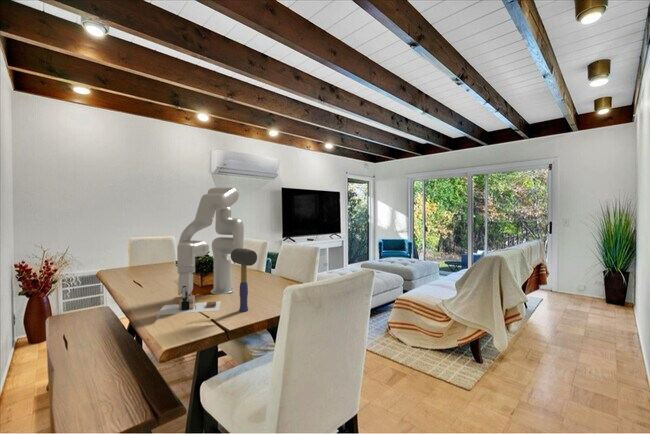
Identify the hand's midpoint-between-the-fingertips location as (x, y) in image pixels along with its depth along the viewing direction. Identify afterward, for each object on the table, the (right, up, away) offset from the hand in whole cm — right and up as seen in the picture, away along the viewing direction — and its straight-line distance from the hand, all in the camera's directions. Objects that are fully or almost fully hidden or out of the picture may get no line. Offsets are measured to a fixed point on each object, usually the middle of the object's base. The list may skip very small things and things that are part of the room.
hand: (186, 307), depth 141 cm
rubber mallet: (+28, -2, -3) cm, 28 cm away
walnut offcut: (+11, 0, +3) cm, 11 cm away
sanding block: (0, 0, 0) cm, 0 cm away
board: (+2, -2, 0) cm, 3 cm away
